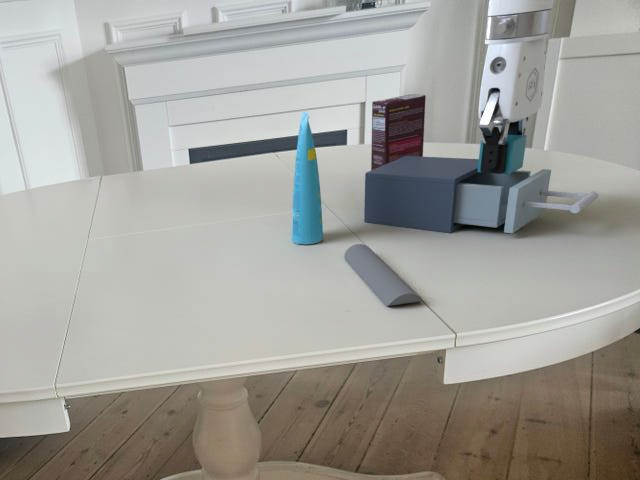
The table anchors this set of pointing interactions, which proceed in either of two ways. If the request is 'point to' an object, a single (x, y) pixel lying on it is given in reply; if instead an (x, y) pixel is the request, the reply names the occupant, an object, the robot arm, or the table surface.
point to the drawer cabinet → (416, 192)
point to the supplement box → (397, 128)
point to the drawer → (509, 199)
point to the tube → (306, 190)
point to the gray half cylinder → (380, 276)
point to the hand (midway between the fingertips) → (500, 167)
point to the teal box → (511, 153)
